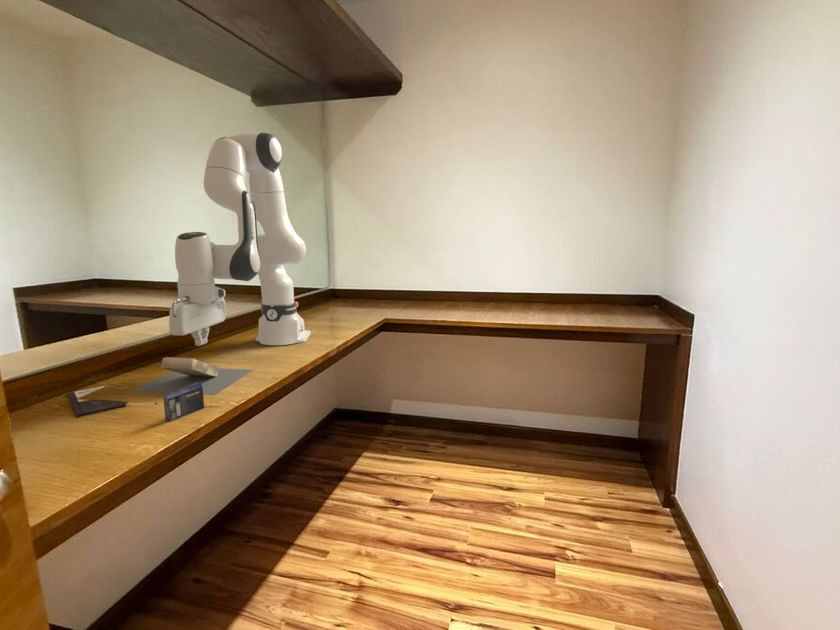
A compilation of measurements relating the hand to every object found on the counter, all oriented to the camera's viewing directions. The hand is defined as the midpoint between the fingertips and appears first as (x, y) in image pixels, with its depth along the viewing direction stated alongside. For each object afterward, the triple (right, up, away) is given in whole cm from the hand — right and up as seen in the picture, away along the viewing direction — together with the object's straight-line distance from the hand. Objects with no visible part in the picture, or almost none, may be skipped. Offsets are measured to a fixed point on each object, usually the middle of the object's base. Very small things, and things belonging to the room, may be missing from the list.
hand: (201, 344), depth 118 cm
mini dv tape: (+8, -14, -22) cm, 27 cm away
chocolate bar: (-18, -13, -15) cm, 26 cm away
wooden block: (0, -8, +1) cm, 8 cm away
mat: (0, -10, -2) cm, 10 cm away
